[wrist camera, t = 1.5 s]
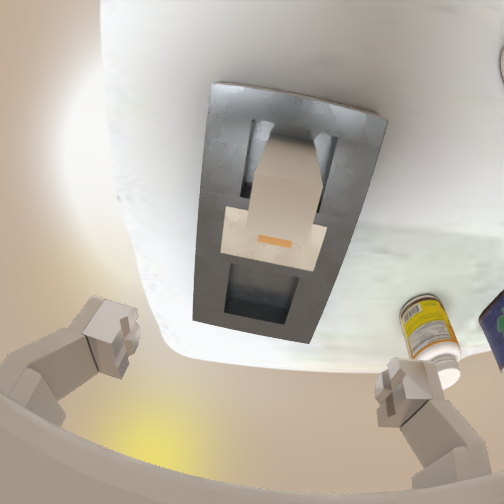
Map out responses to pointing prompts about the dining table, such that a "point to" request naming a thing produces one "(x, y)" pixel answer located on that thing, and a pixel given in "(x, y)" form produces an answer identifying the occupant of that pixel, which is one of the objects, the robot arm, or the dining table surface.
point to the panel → (238, 198)
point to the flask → (495, 328)
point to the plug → (285, 192)
